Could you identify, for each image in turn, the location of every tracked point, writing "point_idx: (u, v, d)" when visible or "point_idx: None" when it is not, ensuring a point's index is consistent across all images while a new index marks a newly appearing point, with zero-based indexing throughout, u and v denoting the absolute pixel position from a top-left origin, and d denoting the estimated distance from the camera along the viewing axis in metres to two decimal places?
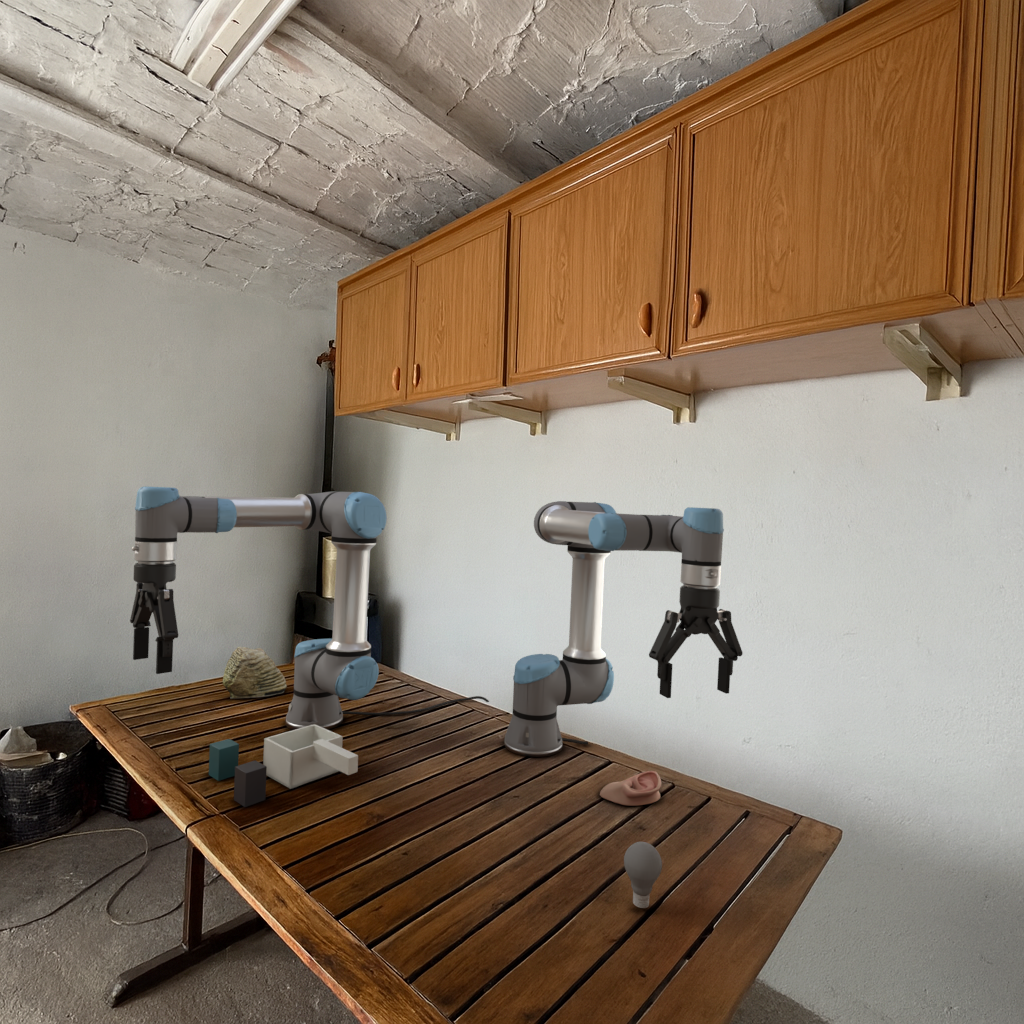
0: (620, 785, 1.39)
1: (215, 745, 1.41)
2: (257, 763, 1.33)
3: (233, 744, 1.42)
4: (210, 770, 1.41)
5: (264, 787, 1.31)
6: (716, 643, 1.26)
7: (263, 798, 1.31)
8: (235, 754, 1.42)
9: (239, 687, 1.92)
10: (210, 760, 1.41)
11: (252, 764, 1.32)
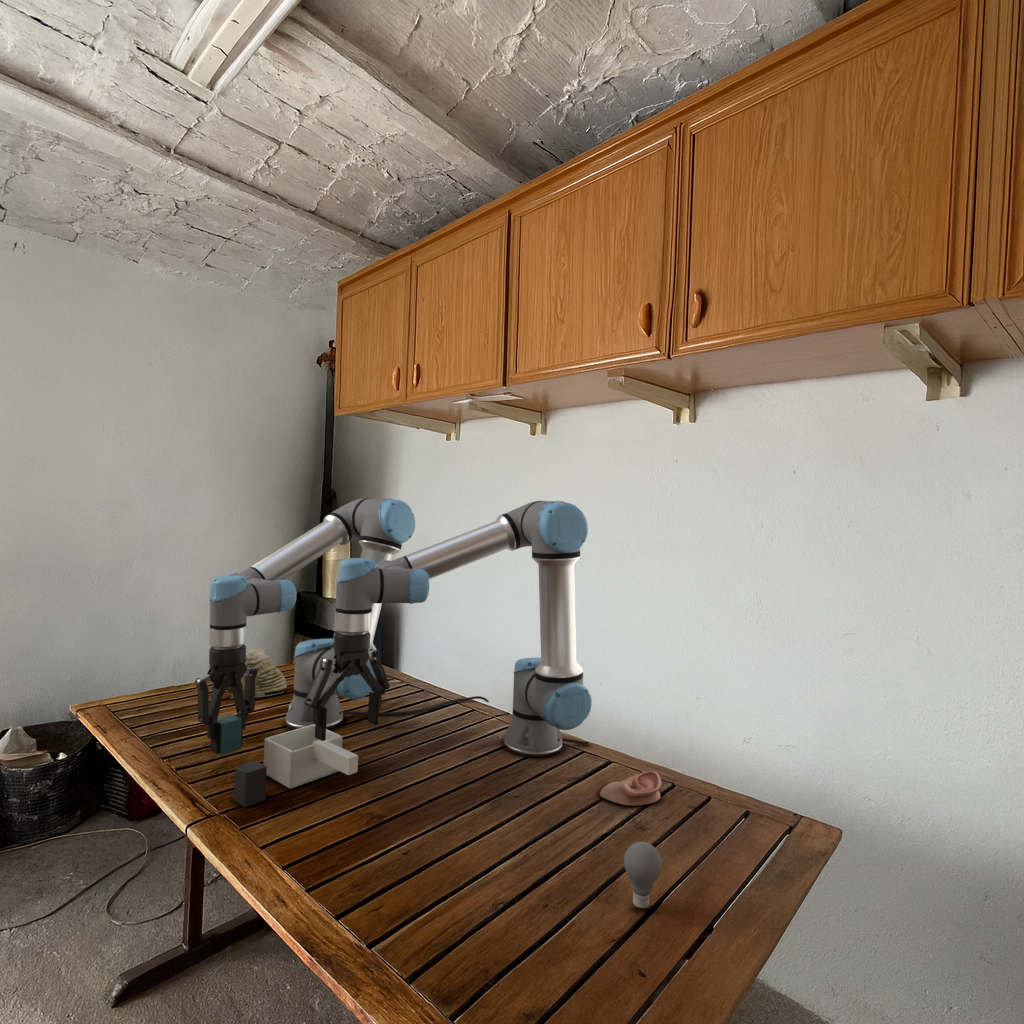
0: (620, 785, 1.39)
1: (218, 720, 1.41)
2: (257, 763, 1.33)
3: (236, 719, 1.42)
4: None
5: (264, 787, 1.31)
6: None
7: (263, 798, 1.31)
8: (238, 729, 1.42)
9: None
10: None
11: (252, 764, 1.32)
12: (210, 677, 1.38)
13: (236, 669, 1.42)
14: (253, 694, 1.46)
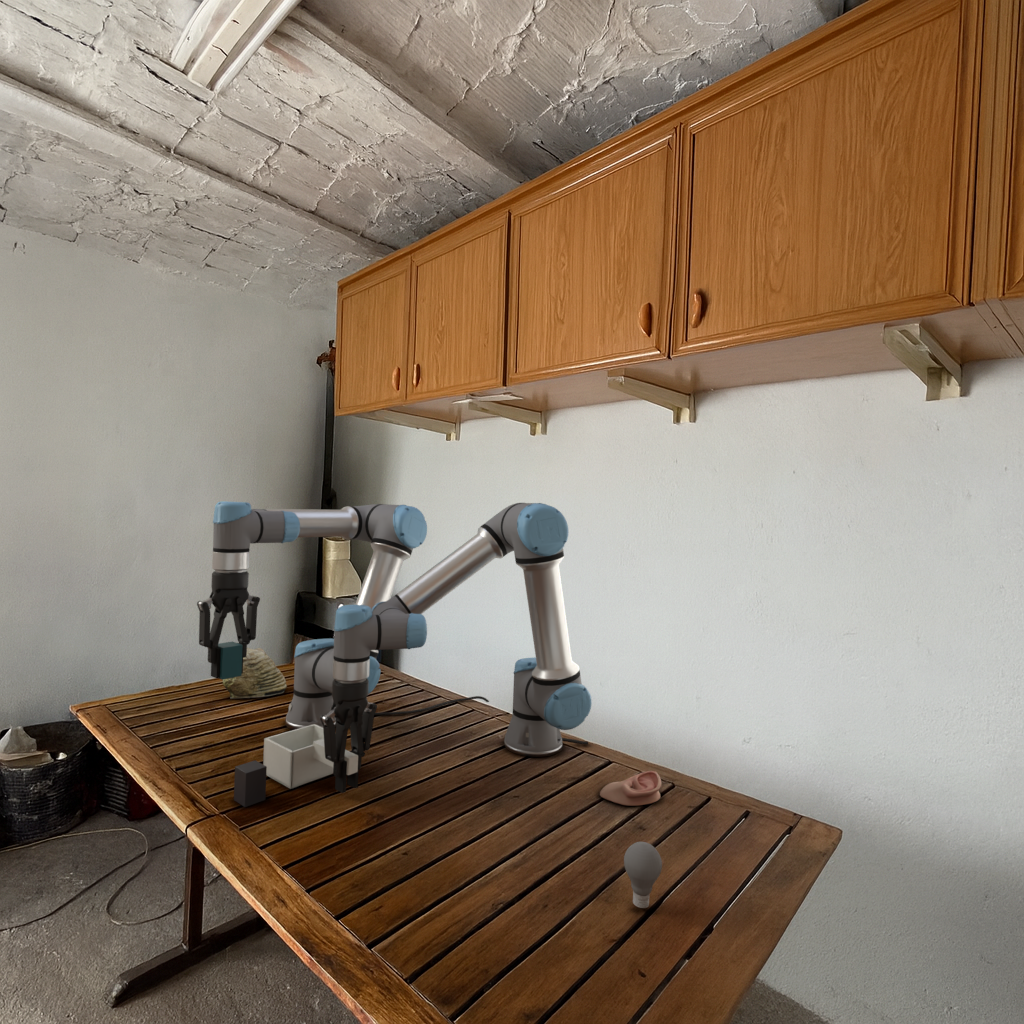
0: (620, 785, 1.39)
1: (219, 645, 1.40)
2: (257, 763, 1.33)
3: (237, 645, 1.41)
4: None
5: (264, 787, 1.31)
6: None
7: (263, 798, 1.31)
8: (239, 655, 1.41)
9: (239, 687, 1.92)
10: None
11: (252, 764, 1.32)
12: (212, 600, 1.38)
13: (239, 595, 1.42)
14: (254, 622, 1.45)
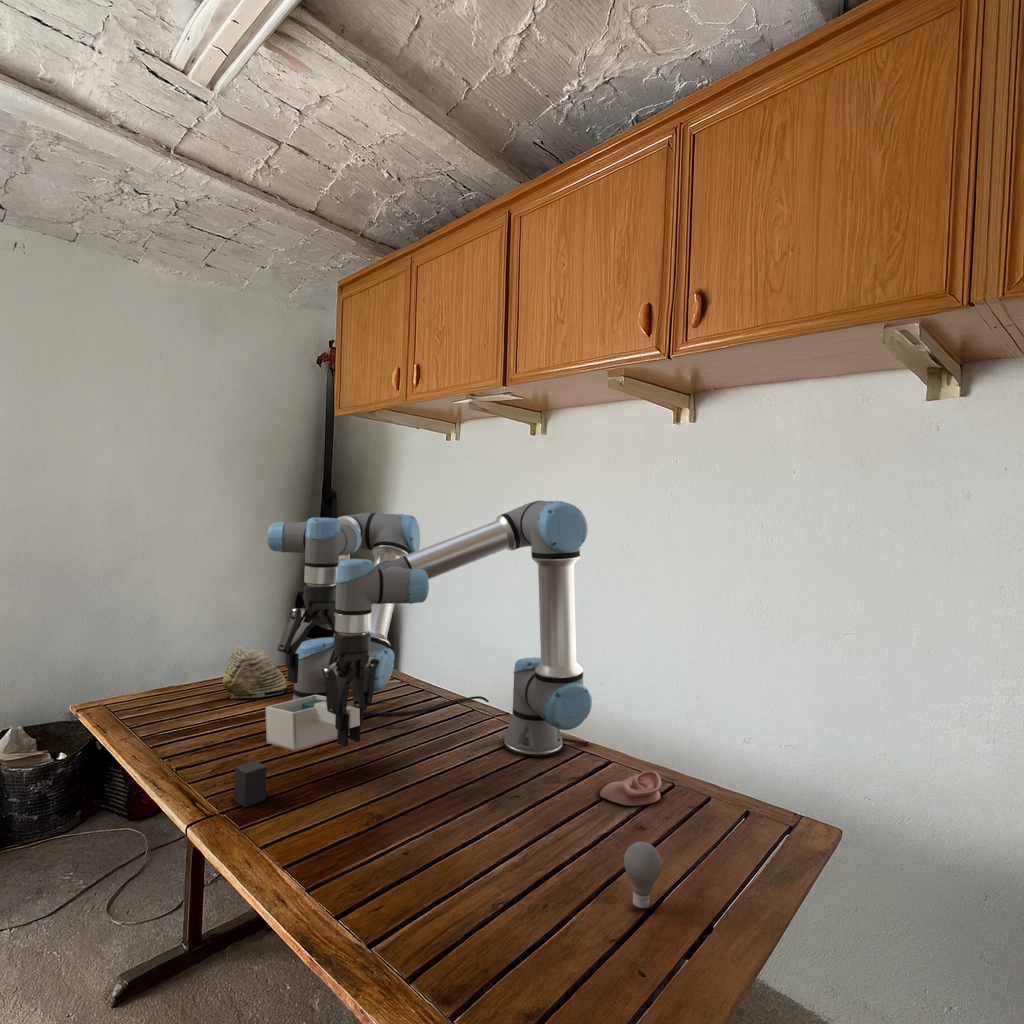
0: (620, 785, 1.39)
1: (308, 703, 1.46)
2: (257, 763, 1.33)
3: (324, 701, 1.47)
4: None
5: (264, 787, 1.31)
6: None
7: (263, 798, 1.31)
8: None
9: (239, 687, 1.92)
10: None
11: (252, 764, 1.32)
12: (305, 613, 1.43)
13: (328, 608, 1.48)
14: None
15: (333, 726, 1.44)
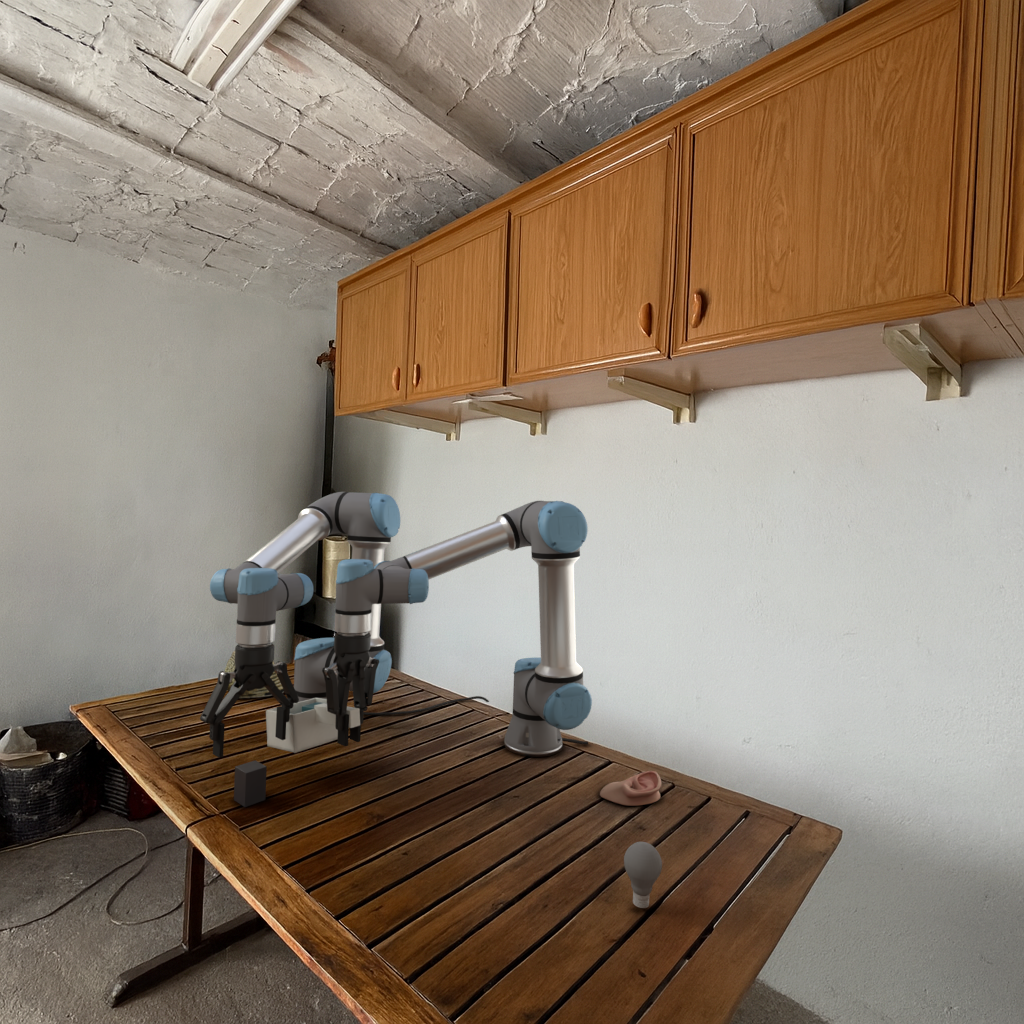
0: (620, 785, 1.39)
1: (308, 706, 1.46)
2: (257, 763, 1.33)
3: None
4: None
5: (264, 787, 1.31)
6: None
7: (263, 798, 1.31)
8: None
9: (239, 687, 1.92)
10: None
11: (252, 764, 1.32)
12: (236, 678, 1.27)
13: (264, 670, 1.31)
14: (291, 687, 1.36)
15: (334, 728, 1.44)
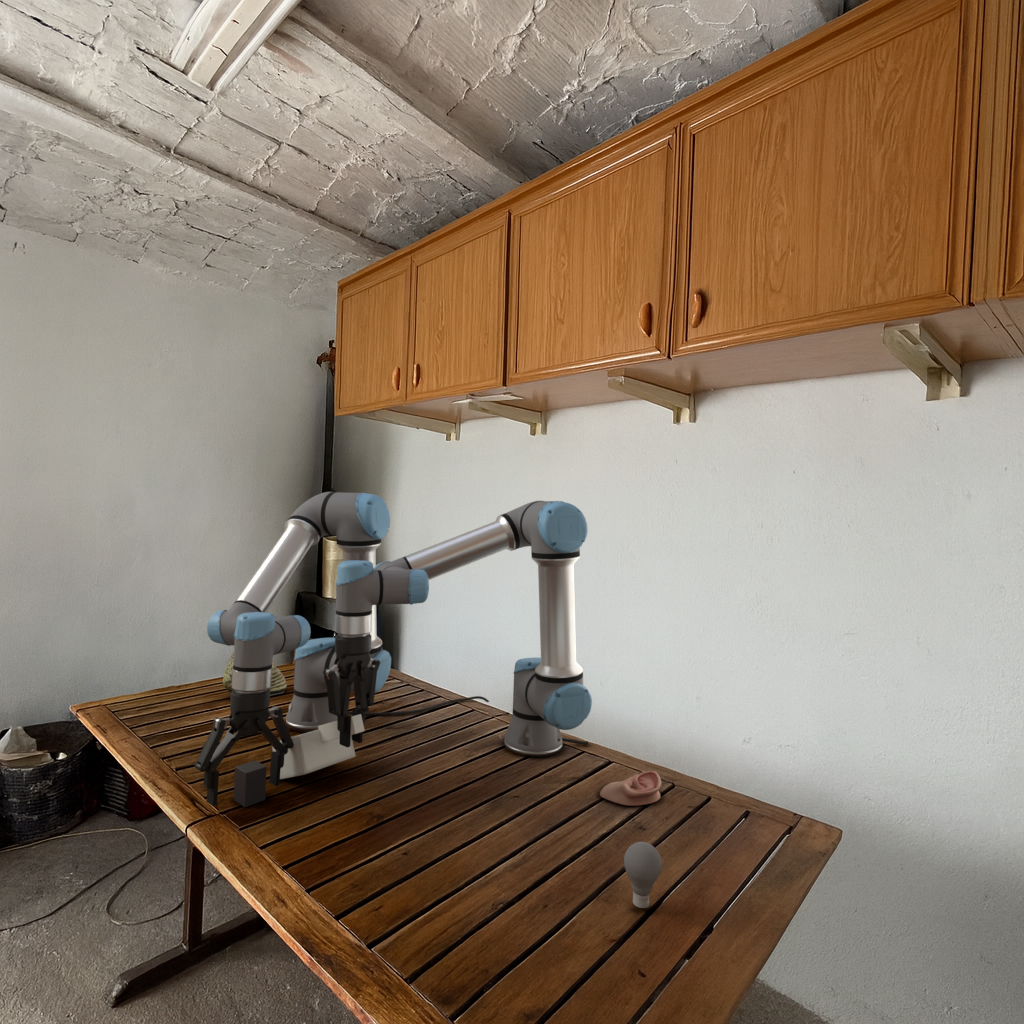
0: (620, 785, 1.39)
1: None
2: (257, 763, 1.33)
3: None
4: None
5: (264, 787, 1.31)
6: None
7: (263, 798, 1.31)
8: None
9: None
10: None
11: (252, 764, 1.32)
12: (231, 724, 1.26)
13: (259, 715, 1.31)
14: (286, 732, 1.36)
15: (341, 748, 1.43)
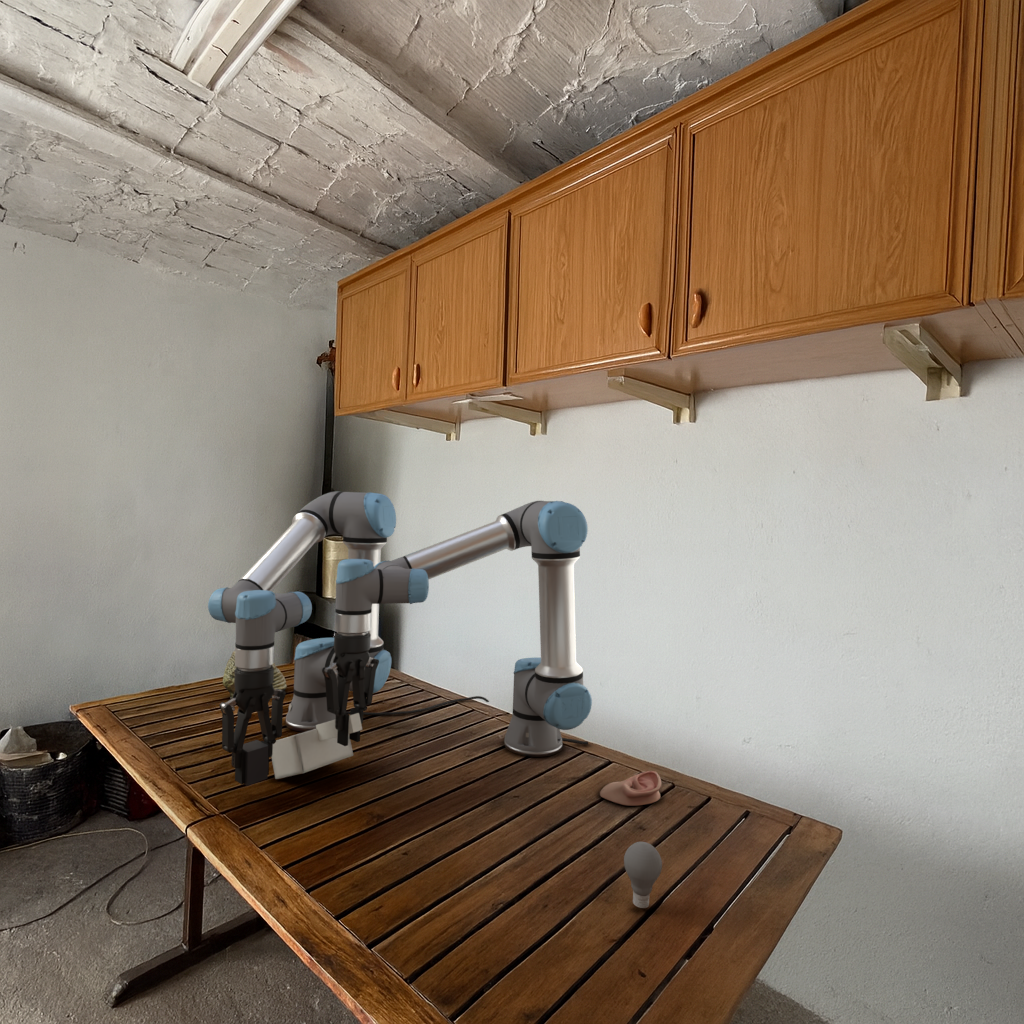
0: (620, 785, 1.39)
1: None
2: (259, 742, 1.33)
3: None
4: None
5: (266, 765, 1.31)
6: None
7: (265, 777, 1.31)
8: None
9: None
10: None
11: (253, 743, 1.32)
12: (236, 701, 1.27)
13: (264, 692, 1.31)
14: (280, 718, 1.35)
15: (339, 747, 1.42)
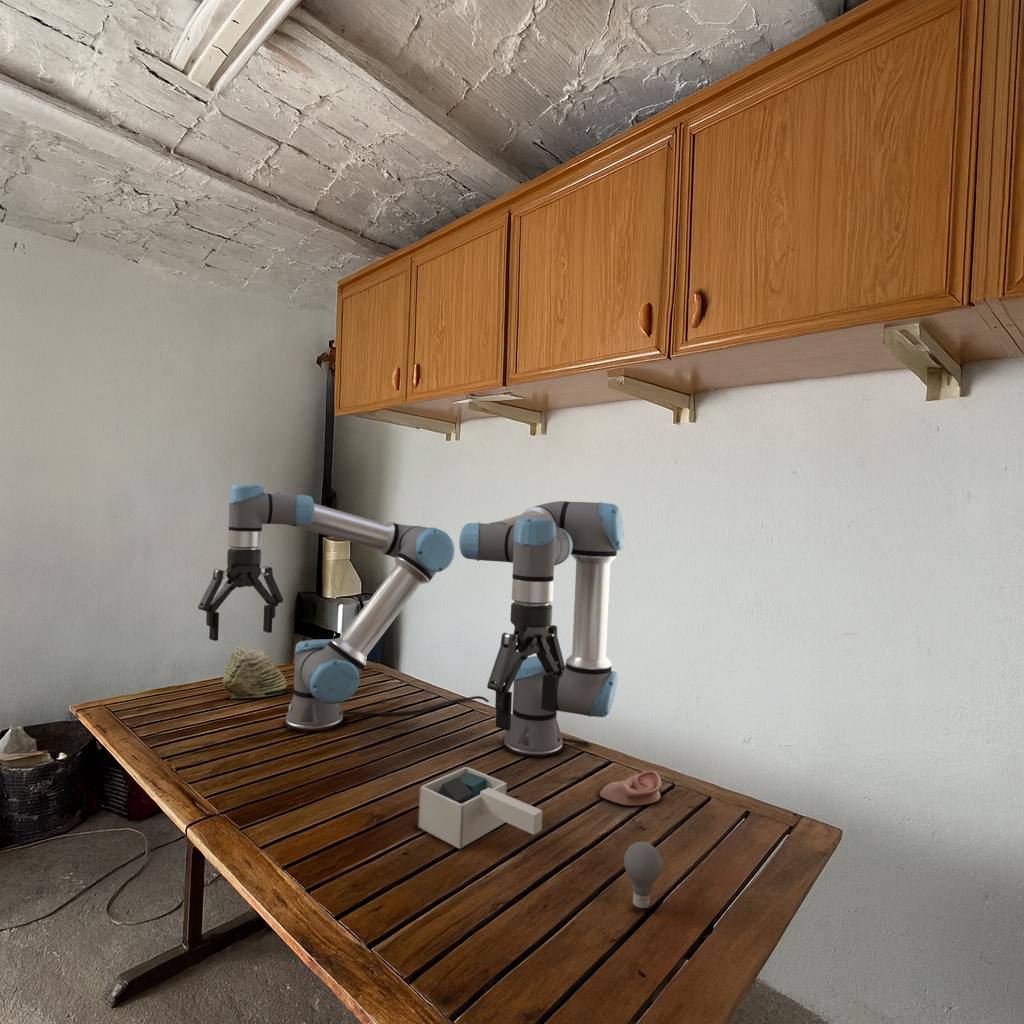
0: (620, 785, 1.39)
1: (463, 781, 1.27)
2: (462, 784, 1.25)
3: (481, 779, 1.28)
4: None
5: None
6: None
7: None
8: None
9: (239, 687, 1.92)
10: None
11: (457, 783, 1.24)
12: (228, 575, 1.49)
13: (252, 571, 1.54)
14: (276, 588, 1.59)
15: None
